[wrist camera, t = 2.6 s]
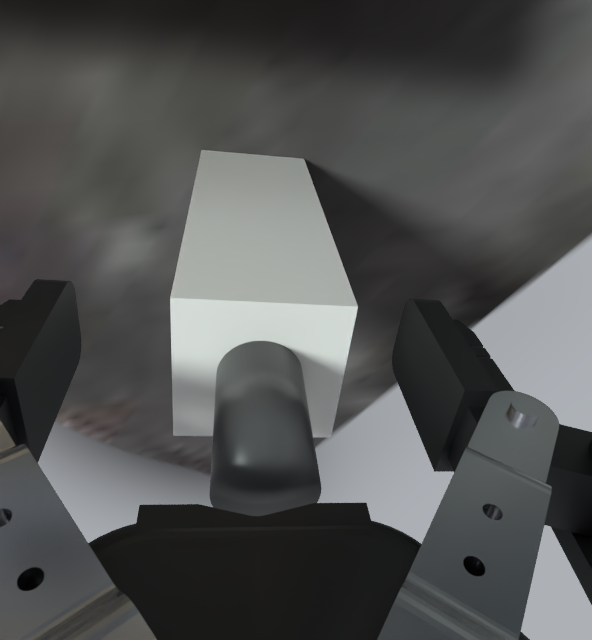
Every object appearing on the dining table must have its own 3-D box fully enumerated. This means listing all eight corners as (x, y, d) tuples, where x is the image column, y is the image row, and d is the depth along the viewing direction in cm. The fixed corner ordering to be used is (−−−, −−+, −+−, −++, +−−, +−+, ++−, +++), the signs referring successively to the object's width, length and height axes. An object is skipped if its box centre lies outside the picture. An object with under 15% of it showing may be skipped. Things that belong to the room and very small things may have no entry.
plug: (304, 158, 18) (396, 413, 8) (292, 250, 20) (354, 556, 10) (201, 150, 18) (147, 409, 7) (200, 244, 20) (155, 561, 9)
